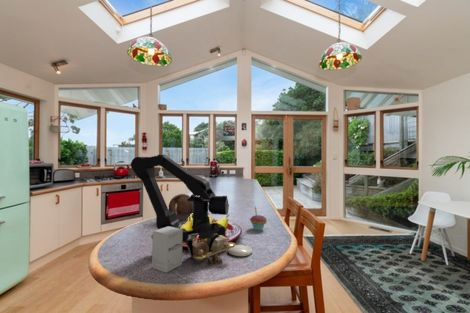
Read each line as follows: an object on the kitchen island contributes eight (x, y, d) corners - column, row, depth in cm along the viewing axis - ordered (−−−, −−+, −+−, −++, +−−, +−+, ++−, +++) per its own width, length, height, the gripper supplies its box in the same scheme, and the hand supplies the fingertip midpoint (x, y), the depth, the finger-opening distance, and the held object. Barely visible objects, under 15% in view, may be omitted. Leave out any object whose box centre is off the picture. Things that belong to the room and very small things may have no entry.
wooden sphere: (185, 215, 157) (185, 191, 157) (199, 220, 147) (200, 194, 146) (163, 219, 146) (163, 193, 146) (177, 225, 136) (178, 197, 136)
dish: (234, 259, 93) (235, 256, 93) (223, 250, 101) (224, 247, 101) (256, 254, 97) (256, 251, 97) (244, 246, 106) (244, 243, 106)
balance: (196, 269, 85) (196, 252, 84) (192, 263, 88) (192, 248, 88) (236, 260, 92) (237, 245, 92) (231, 256, 96) (231, 241, 96)
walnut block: (195, 261, 90) (195, 248, 90) (191, 256, 95) (191, 243, 95) (208, 259, 93) (208, 245, 93) (203, 254, 97) (204, 241, 97)
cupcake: (247, 230, 128) (248, 206, 128) (253, 225, 136) (253, 203, 136) (264, 232, 125) (264, 208, 125) (268, 227, 133) (268, 205, 133)
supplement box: (166, 273, 81) (167, 234, 81) (151, 267, 85) (151, 230, 85) (182, 265, 87) (183, 228, 87) (167, 260, 91) (168, 225, 91)
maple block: (217, 253, 98) (217, 240, 98) (210, 249, 102) (210, 237, 102) (227, 250, 101) (227, 238, 101) (220, 246, 105) (220, 234, 105)
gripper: (181, 221, 82) (181, 268, 82) (232, 215, 91) (232, 258, 91) (173, 213, 92) (172, 256, 92) (219, 209, 101) (219, 248, 101)
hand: (199, 254), depth 94 cm, fingers open, 6 cm apart
